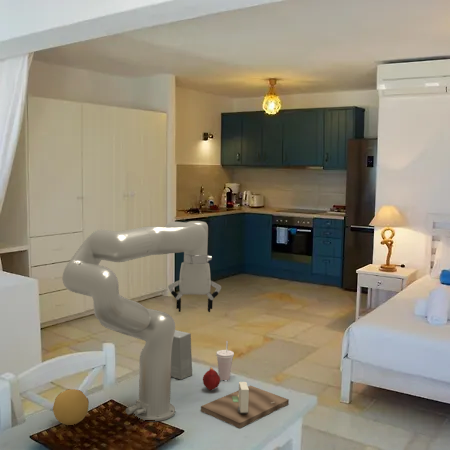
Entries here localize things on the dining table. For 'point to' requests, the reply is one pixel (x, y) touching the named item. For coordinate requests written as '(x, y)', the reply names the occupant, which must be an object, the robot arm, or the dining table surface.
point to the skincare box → (181, 355)
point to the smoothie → (224, 362)
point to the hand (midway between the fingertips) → (194, 311)
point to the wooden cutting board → (257, 407)
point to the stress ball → (70, 407)
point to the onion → (211, 379)
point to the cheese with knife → (243, 398)
